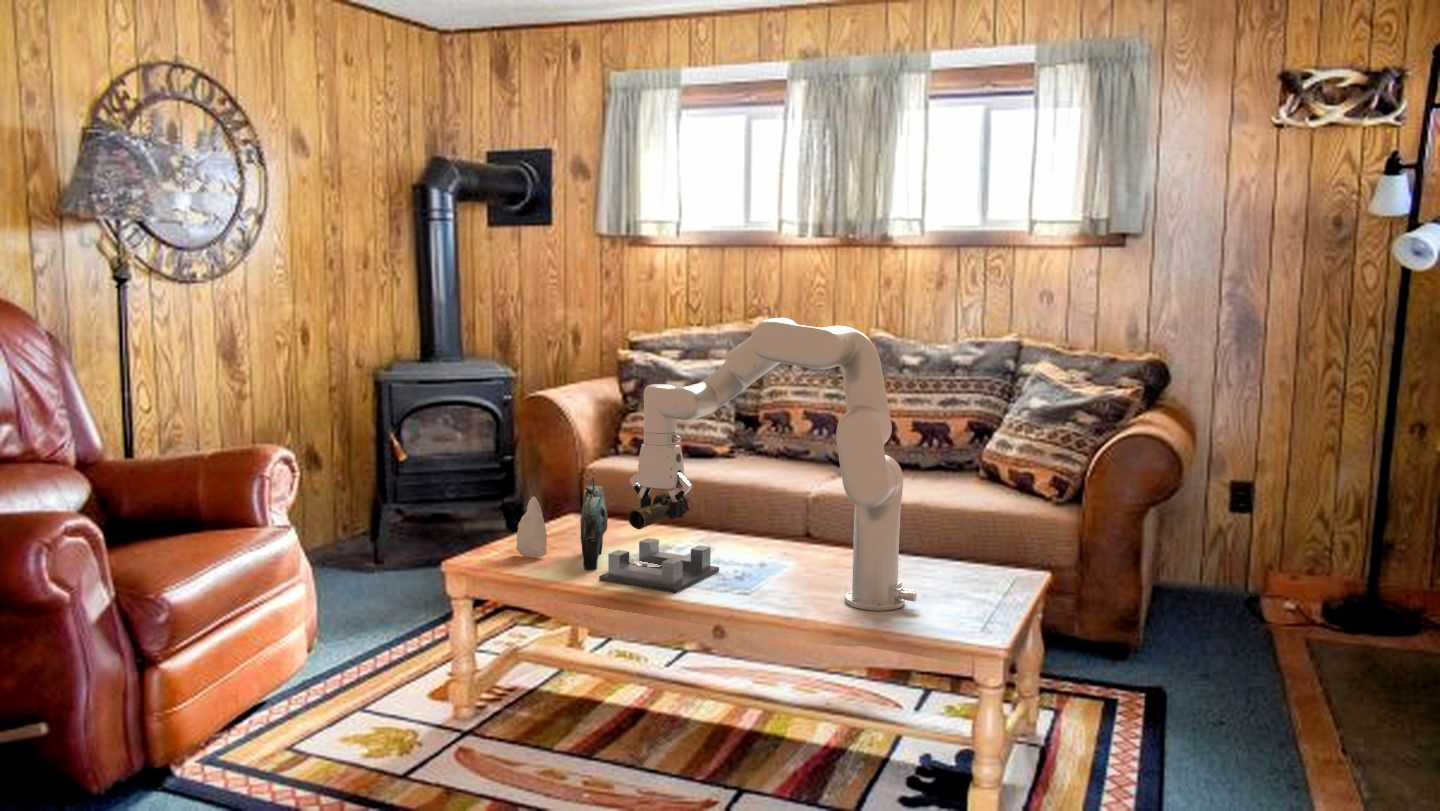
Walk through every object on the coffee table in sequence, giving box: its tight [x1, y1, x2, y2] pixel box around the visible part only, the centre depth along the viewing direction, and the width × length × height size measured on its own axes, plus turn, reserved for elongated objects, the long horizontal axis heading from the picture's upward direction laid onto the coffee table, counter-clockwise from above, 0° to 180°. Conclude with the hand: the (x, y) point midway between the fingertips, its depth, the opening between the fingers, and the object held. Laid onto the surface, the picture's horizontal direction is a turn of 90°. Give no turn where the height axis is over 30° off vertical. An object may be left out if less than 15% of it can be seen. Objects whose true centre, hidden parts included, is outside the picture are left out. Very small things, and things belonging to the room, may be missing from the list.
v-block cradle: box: [598, 537, 720, 594], centre depth 249 cm, size 20×20×6 cm
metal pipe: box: [627, 493, 691, 530], centre depth 248 cm, size 18×7×6 cm, turn 144°
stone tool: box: [516, 495, 548, 559], centre depth 264 cm, size 8×3×15 cm, turn 70°
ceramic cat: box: [580, 476, 609, 571], centre depth 262 cm, size 20×6×20 cm, turn 2°
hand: (660, 515), depth 248 cm, fingers closed on metal pipe, 6 cm apart
